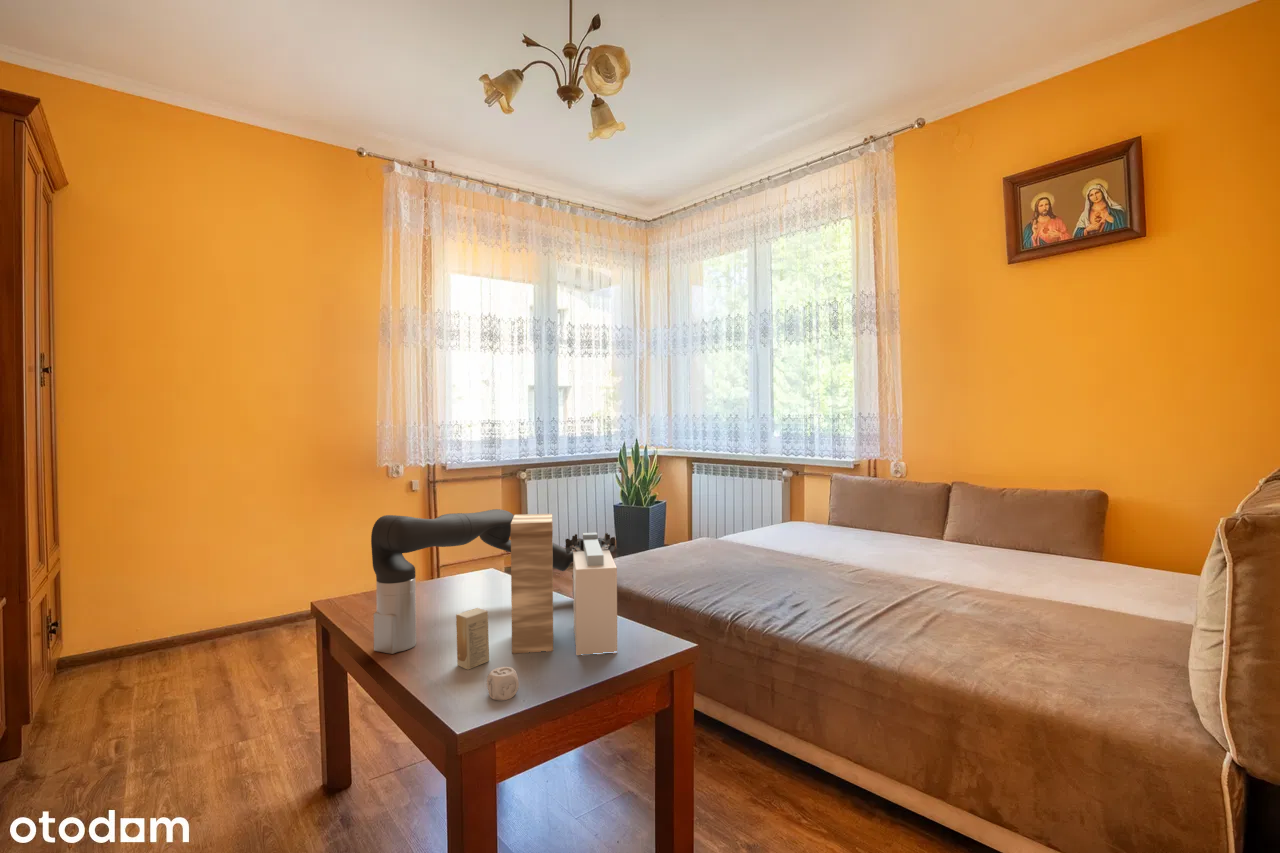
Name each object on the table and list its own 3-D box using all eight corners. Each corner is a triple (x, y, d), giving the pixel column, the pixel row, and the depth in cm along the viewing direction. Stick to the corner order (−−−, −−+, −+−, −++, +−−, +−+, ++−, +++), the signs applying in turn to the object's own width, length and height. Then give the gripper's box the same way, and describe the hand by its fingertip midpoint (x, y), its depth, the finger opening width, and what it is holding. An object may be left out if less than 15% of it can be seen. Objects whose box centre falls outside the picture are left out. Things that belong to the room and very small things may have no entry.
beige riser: (617, 653, 146) (616, 567, 146) (576, 655, 144) (575, 569, 144) (609, 625, 165) (609, 550, 165) (573, 627, 164) (573, 551, 164)
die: (486, 694, 124) (486, 670, 124) (509, 687, 127) (509, 664, 127) (496, 703, 120) (495, 678, 120) (518, 696, 123) (518, 672, 123)
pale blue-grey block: (603, 565, 148) (603, 550, 148) (587, 565, 148) (587, 551, 148) (596, 545, 172) (596, 532, 172) (582, 545, 171) (582, 533, 171)
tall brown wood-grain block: (553, 651, 147) (552, 522, 147) (511, 653, 146) (510, 523, 146) (553, 631, 161) (552, 513, 161) (515, 633, 160) (514, 514, 160)
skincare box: (478, 657, 144) (478, 606, 144) (489, 661, 141) (489, 610, 141) (455, 665, 139) (455, 613, 139) (466, 670, 136) (466, 617, 136)
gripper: (613, 566, 178) (617, 548, 164) (565, 568, 176) (565, 550, 162) (611, 541, 181) (616, 523, 167) (564, 543, 179) (565, 524, 165)
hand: (591, 536), depth 164 cm, fingers open, 8 cm apart
